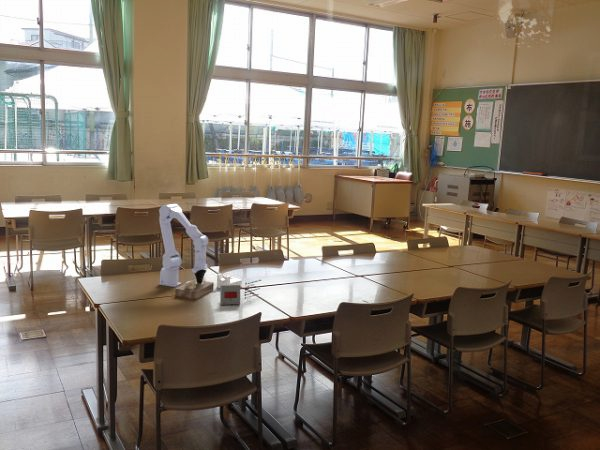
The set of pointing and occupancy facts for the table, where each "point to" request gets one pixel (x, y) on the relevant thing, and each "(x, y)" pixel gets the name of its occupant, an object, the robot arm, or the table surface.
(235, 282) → the bracket
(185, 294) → the band block
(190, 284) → the peg
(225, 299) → the voltmeter
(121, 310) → the table surface
